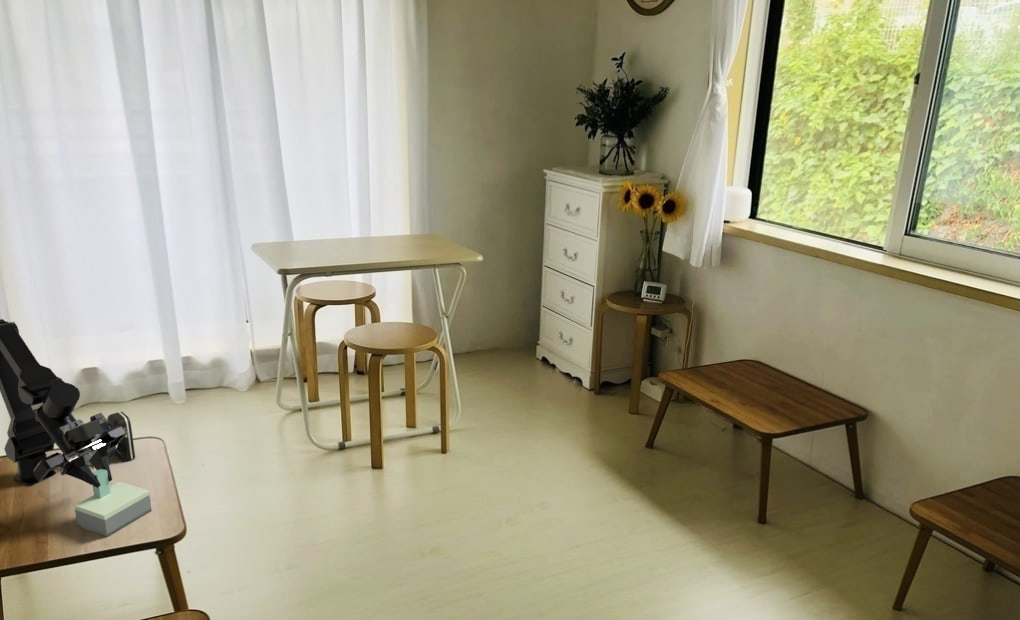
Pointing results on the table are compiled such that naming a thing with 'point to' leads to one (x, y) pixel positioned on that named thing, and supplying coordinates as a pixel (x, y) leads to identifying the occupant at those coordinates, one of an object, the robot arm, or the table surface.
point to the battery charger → (126, 444)
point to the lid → (110, 497)
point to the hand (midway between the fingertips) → (105, 483)
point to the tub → (114, 518)
